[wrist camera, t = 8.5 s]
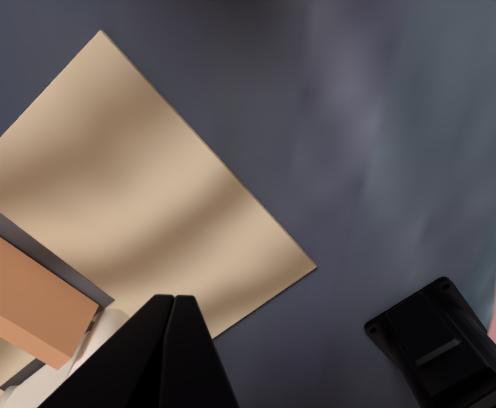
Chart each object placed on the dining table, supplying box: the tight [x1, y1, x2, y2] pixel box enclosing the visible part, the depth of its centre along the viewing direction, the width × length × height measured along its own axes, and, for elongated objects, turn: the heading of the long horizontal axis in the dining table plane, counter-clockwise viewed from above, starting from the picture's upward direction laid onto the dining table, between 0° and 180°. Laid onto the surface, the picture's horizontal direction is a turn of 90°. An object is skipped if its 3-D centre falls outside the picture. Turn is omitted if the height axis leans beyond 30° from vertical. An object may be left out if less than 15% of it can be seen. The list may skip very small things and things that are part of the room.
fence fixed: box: [0, 308, 129, 408], centre depth 21 cm, size 2×12×6 cm, turn 130°
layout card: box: [0, 30, 317, 398], centre depth 21 cm, size 17×24×1 cm
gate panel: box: [0, 237, 99, 370], centre depth 17 cm, size 2×9×5 cm, turn 42°
